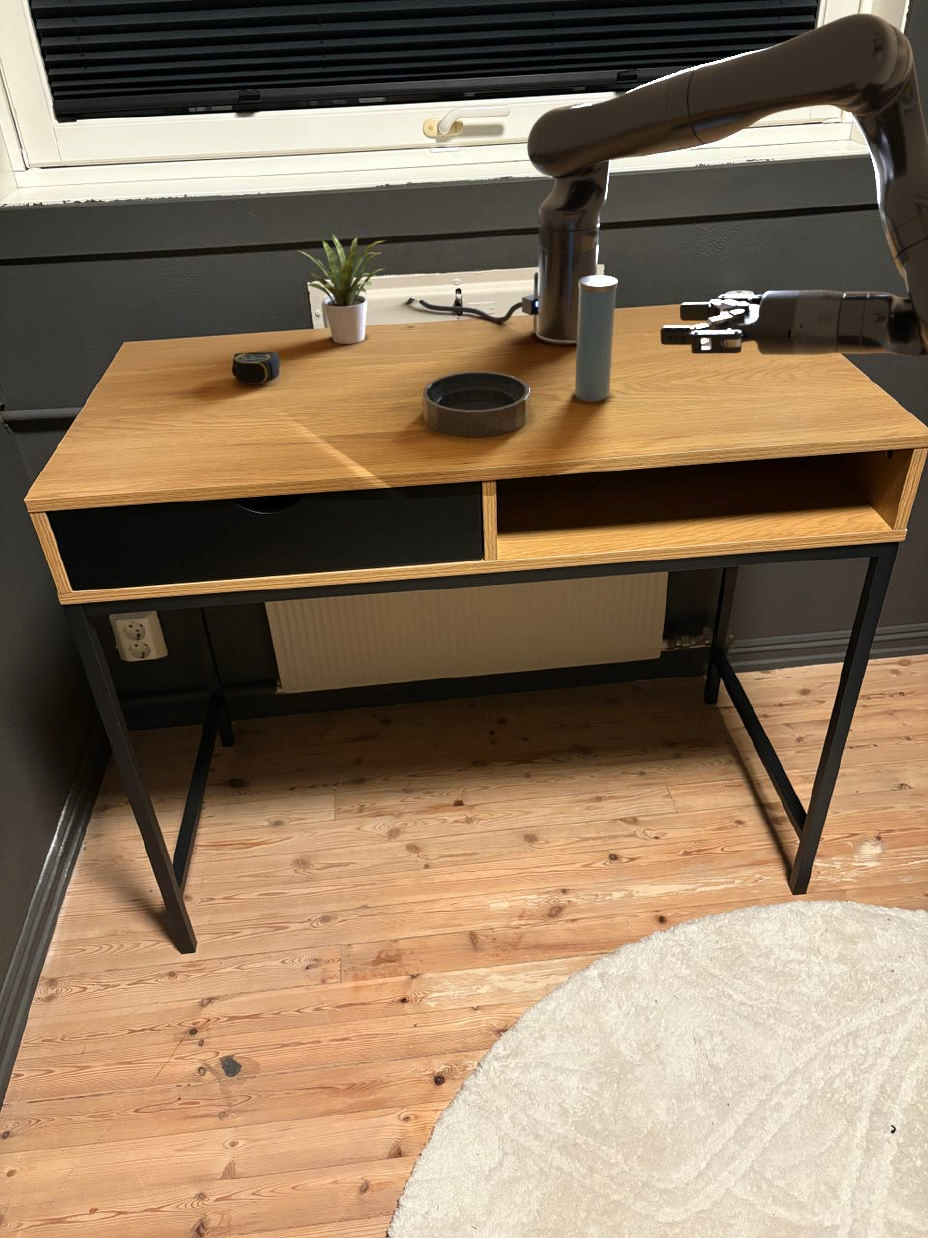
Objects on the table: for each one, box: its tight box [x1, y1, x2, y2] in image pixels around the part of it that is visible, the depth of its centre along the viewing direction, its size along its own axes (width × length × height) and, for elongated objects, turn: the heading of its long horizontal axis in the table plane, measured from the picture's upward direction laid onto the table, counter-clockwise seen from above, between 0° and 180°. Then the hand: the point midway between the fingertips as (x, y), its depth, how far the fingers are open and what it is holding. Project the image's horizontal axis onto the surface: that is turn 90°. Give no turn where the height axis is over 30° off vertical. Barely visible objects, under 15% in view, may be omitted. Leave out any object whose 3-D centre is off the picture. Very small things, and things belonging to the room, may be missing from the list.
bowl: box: [421, 370, 531, 438], centre depth 126 cm, size 14×14×4 cm
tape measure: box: [231, 351, 281, 385], centre depth 140 cm, size 7×7×4 cm
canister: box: [574, 275, 618, 402], centre depth 127 cm, size 5×5×16 cm
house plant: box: [298, 233, 387, 345], centre depth 150 cm, size 14×14×16 cm
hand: (671, 323), depth 121 cm, fingers open, 8 cm apart
